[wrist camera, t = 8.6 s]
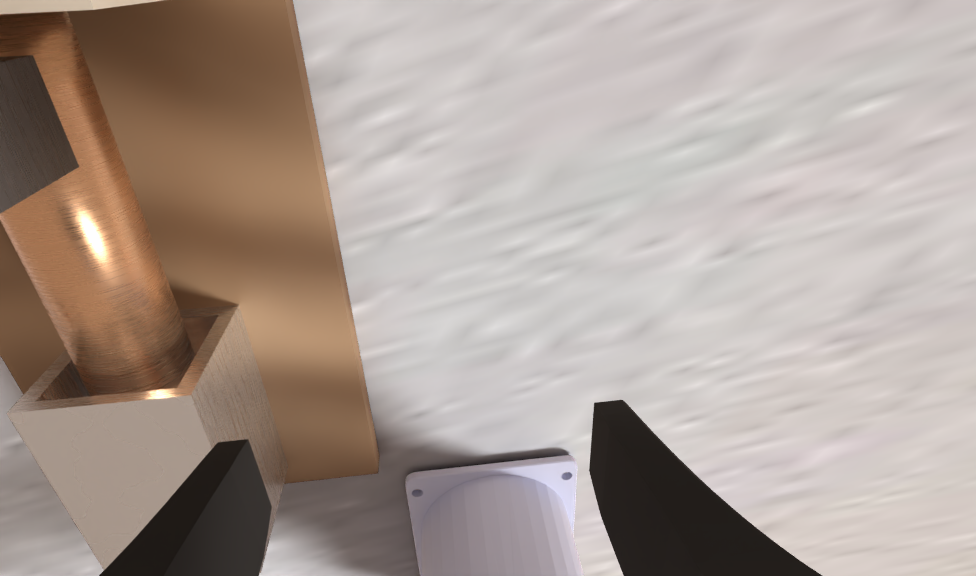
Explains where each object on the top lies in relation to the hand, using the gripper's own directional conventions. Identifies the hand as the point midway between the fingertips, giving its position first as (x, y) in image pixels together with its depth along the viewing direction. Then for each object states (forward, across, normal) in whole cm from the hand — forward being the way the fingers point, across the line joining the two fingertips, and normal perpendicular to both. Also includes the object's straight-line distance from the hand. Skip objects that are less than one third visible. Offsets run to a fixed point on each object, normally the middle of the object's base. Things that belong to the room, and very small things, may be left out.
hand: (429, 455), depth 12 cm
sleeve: (+10, +9, +5) cm, 14 cm away
